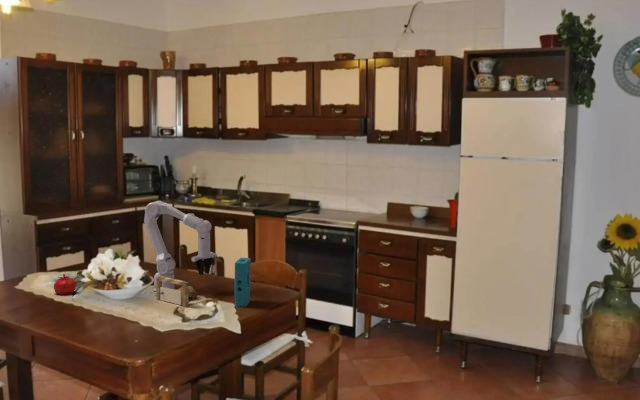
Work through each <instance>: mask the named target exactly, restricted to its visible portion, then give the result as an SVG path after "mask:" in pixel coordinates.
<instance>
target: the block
mask: <svg viewBox="0 0 640 400" xmlns="http://www.w3.org/2000/svg"><path fill="white" fill-rule="evenodd" d="M251 262H252V261H251V258H250V257H240V258H238V259H237V260H236V261H235V262H234V301H235V302H234V304H235V307H247V306H248V305H249V304H250V301H251V300H250V299H251V282H252V281H251V280H252V279H251V278H252V277H251V274H252V273H251V272H252V271H251V269H252V267H251V266H252V265H251V264H252V263H251Z"/></svg>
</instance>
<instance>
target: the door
mask: <svg viewBox="0 0 640 400" xmlns="http://www.w3.org/2000/svg"><path fill="white" fill-rule="evenodd" d="M175 289H176V288H174V289H170V288H166V287H160V300H159V301H163V302H167V303H172V304H175V305H180V306H183V291H179V290H175Z"/></svg>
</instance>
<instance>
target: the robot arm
mask: <svg viewBox="0 0 640 400" xmlns="http://www.w3.org/2000/svg"><path fill="white" fill-rule="evenodd" d="M166 214H167V215H170V216H172V217H175V218H177V220H181V221H182V222H183V224H184V225H185V226H187V227H189V228H191V229H193V230H195V231H196V232H197V255H194V256H191V262H193V263H194V264H195V266H196V269H197V271H198V275H200V276H203V275H204V273H205V274H210V272H211V267H212V265H213V263H214V261H215V259H214V258H217V253H216V252H211V230H212V223H211V222H210V221H209V220H207V219H203V218H200V217H197V216H196V215H195V214H194V213H191V212H190V213H184V212H182V211H181V210H179V209H177V208H175V207H174V206H172V205H170V204H168V203H167V202H164V201H162V200H156V201H153V202H150V203H147V205H146V207H145V208H144V218H143V224H144V225H145V228H146V231H147V234H148V236H149V239H150V242H151V244H152V247H153V249H154V252H155V254H156V258H155V263H156V270H157V272H156V273H155V274H154V276H153V278H154V279H153V282H154V283H153V288H154V289H152V291H154V292H156V276H163V277H168V278H172V279H175V271H174V269H175V268H176V260H174V258H173V257H172V255H171V254H170V253H169V252H168V250H167V247H166V245H165V242H164V239H163V236H162V234H161V231H160V228H159V226H158V223H157V221H158V219H159V217H160V216H161V215H166ZM162 287H166V288H170V289H175V290H178V289H179V288H177V289H176V288H175V284H173V283H169V282H165V281H162Z"/></svg>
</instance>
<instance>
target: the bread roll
mask: <svg viewBox="0 0 640 400" xmlns="http://www.w3.org/2000/svg"><path fill="white" fill-rule="evenodd" d="M177 289H178V290H179V291H183V286H182V285H181V287H179V288H177ZM197 298H198V293H197V290H196V289H195V288H194V287H193V286H191V285H188V302H190V301H195V300H196V299H197Z"/></svg>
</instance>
